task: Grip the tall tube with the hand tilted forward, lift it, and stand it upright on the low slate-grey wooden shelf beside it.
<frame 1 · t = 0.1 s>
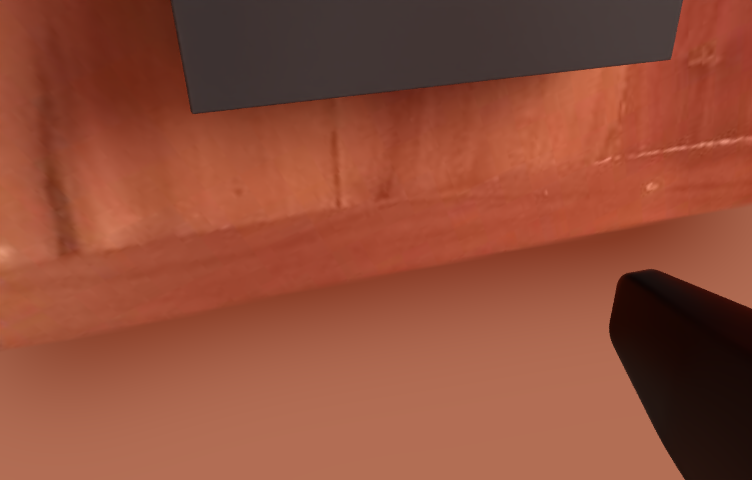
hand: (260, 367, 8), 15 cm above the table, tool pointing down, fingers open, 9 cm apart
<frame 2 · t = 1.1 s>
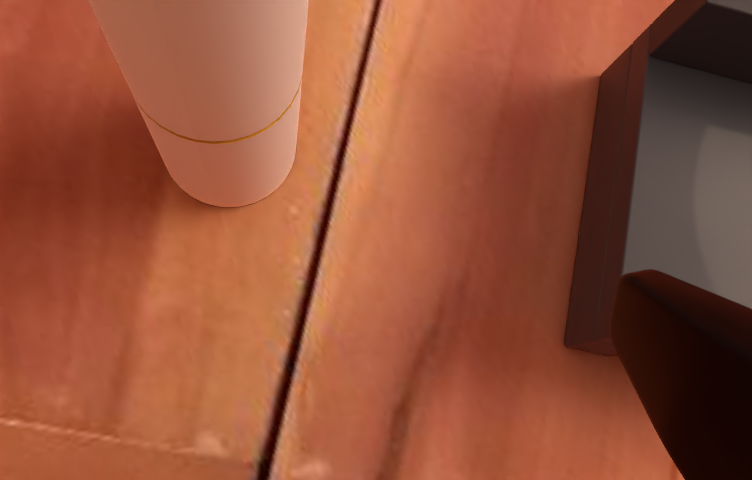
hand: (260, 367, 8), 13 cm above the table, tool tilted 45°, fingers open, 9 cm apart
tube: (230, 145, 22), on the table
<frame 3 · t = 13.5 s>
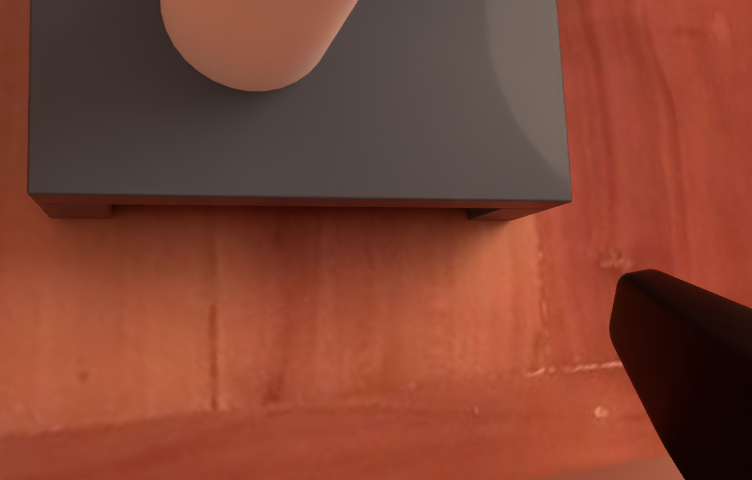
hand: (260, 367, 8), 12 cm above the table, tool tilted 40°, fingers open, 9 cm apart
tube: (248, 12, 17), point 3 cm above the table, touching shelf
shelf: (299, 59, 21), on the table
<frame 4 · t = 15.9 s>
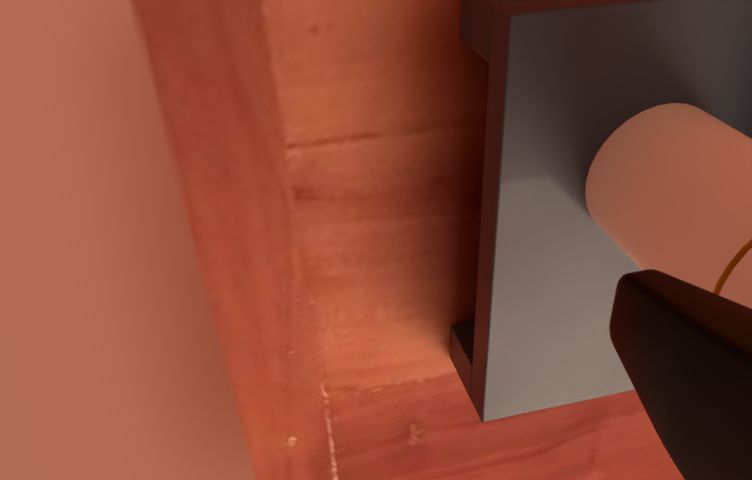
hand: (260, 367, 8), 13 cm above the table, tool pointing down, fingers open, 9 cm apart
tube: (649, 170, 20), point 3 cm above the table, touching shelf
shelf: (590, 180, 24), on the table
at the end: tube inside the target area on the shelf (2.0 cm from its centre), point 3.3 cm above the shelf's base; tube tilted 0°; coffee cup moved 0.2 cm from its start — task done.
